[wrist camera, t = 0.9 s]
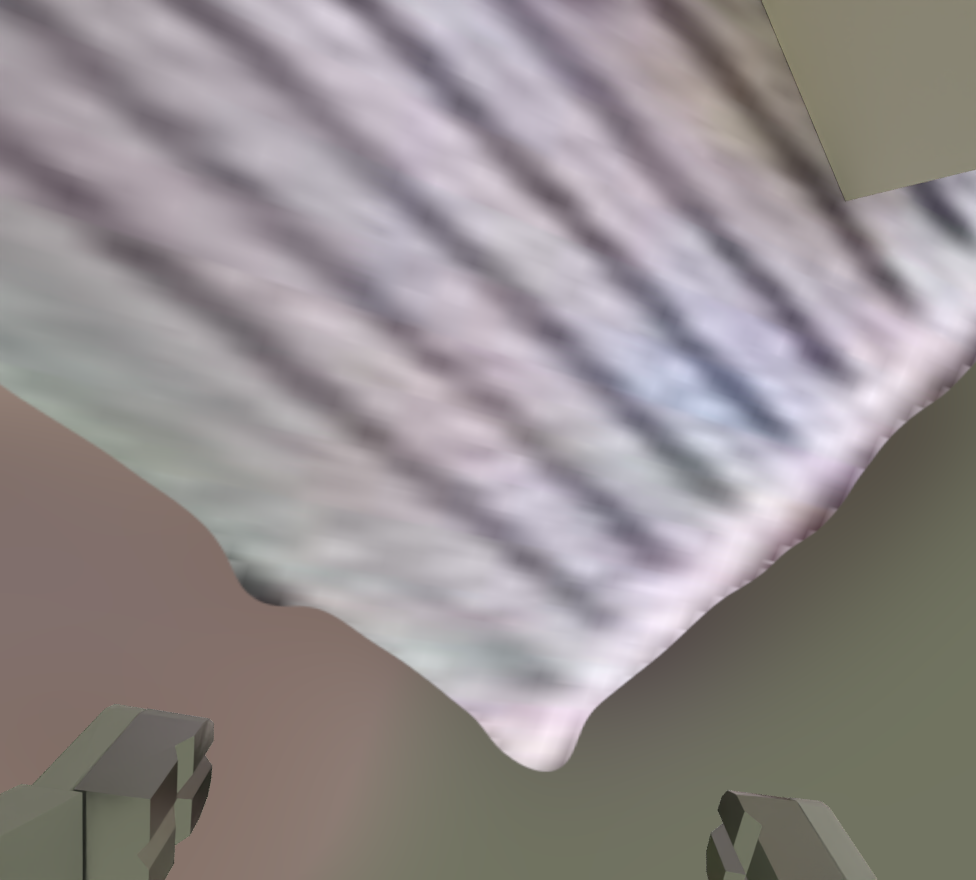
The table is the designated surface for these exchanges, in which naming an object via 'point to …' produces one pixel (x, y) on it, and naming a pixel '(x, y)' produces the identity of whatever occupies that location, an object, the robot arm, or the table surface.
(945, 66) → the lidded kitchen bin
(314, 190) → the table surface
